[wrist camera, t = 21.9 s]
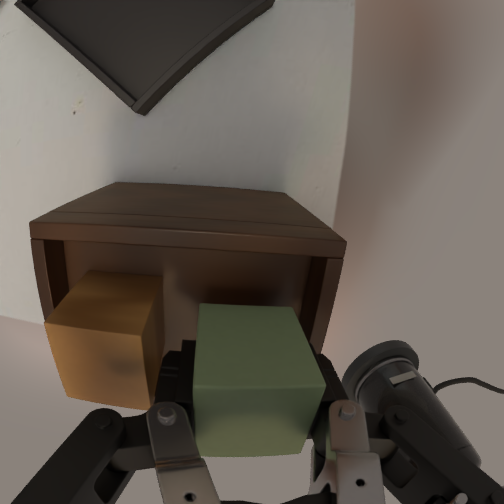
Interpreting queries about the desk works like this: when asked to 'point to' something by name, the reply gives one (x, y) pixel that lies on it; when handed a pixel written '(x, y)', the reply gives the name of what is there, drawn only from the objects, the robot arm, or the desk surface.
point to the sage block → (253, 382)
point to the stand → (194, 251)
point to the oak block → (110, 338)
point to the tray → (141, 38)
